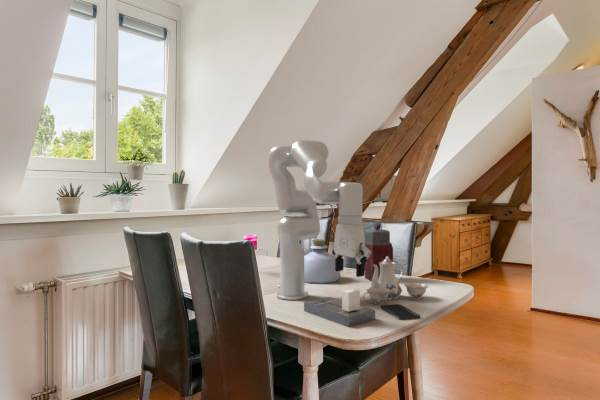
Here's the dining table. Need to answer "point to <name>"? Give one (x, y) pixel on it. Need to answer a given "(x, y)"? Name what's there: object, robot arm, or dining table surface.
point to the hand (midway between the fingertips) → (349, 273)
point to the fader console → (338, 312)
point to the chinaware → (391, 284)
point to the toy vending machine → (377, 248)
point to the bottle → (320, 265)
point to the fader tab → (350, 300)
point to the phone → (400, 312)
